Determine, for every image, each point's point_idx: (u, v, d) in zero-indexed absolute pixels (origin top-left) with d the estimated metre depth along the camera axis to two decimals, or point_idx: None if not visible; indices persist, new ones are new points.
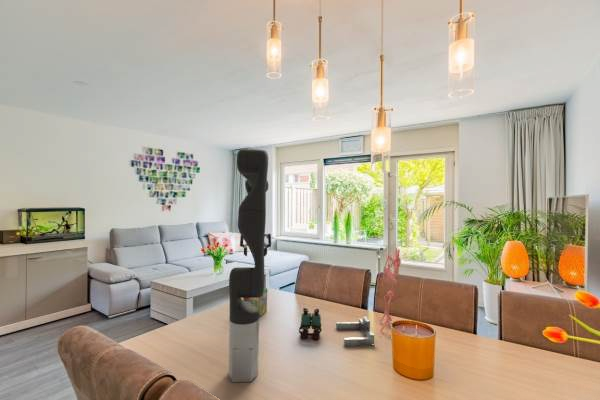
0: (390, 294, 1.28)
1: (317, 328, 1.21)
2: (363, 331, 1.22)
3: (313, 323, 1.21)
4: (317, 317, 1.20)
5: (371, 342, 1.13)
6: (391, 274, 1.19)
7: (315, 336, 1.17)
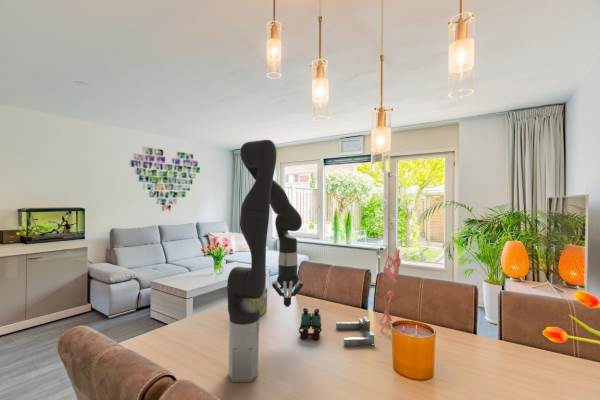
0: (390, 294, 1.28)
1: (317, 328, 1.21)
2: (363, 331, 1.22)
3: (313, 323, 1.21)
4: (317, 317, 1.20)
5: (371, 342, 1.13)
6: (391, 274, 1.19)
7: (315, 336, 1.17)
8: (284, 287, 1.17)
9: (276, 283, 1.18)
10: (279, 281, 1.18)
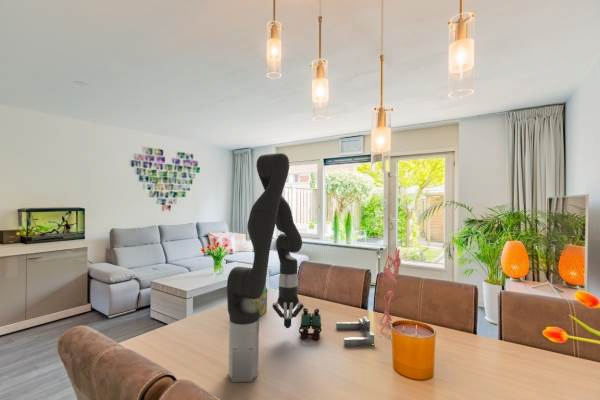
0: (390, 294, 1.28)
1: (317, 328, 1.21)
2: (363, 331, 1.22)
3: (313, 323, 1.21)
4: (317, 317, 1.20)
5: (371, 342, 1.13)
6: (391, 274, 1.19)
7: (315, 336, 1.17)
8: (284, 308, 1.17)
9: (276, 304, 1.18)
10: (279, 302, 1.18)
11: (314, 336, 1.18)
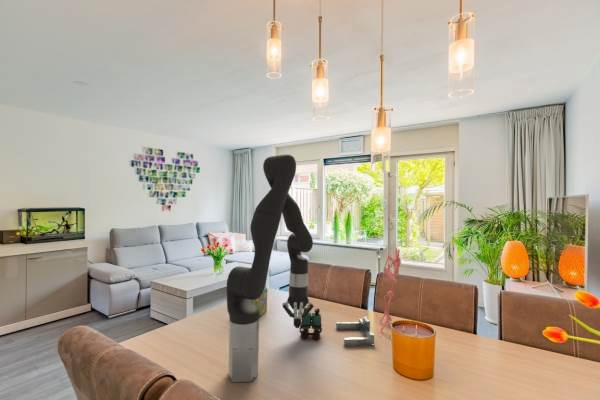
0: (390, 294, 1.28)
1: (317, 328, 1.21)
2: (363, 331, 1.22)
3: (313, 323, 1.21)
4: (318, 317, 1.20)
5: (371, 342, 1.13)
6: (391, 274, 1.19)
7: (316, 336, 1.17)
8: (294, 308, 1.17)
9: (286, 304, 1.18)
10: (290, 302, 1.18)
11: (315, 336, 1.18)
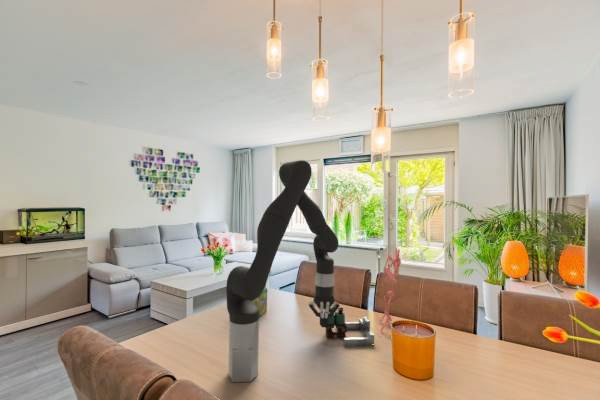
0: (390, 294, 1.28)
1: (342, 326, 1.22)
2: (363, 331, 1.22)
3: (338, 322, 1.22)
4: (342, 316, 1.22)
5: (371, 342, 1.13)
6: (391, 274, 1.19)
7: (342, 334, 1.19)
8: (321, 308, 1.18)
9: (313, 303, 1.19)
10: (316, 302, 1.19)
11: (341, 334, 1.19)
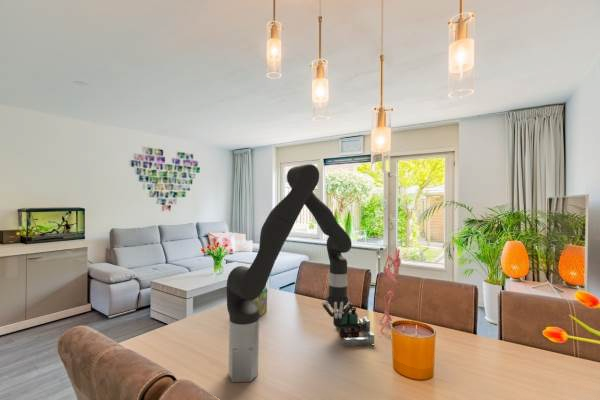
0: (390, 294, 1.28)
1: (355, 326, 1.23)
2: (363, 331, 1.22)
3: (351, 322, 1.23)
4: (355, 315, 1.23)
5: (371, 342, 1.13)
6: (391, 274, 1.19)
7: (355, 334, 1.20)
8: (335, 308, 1.19)
9: (326, 303, 1.20)
10: (330, 302, 1.19)
11: (354, 334, 1.20)
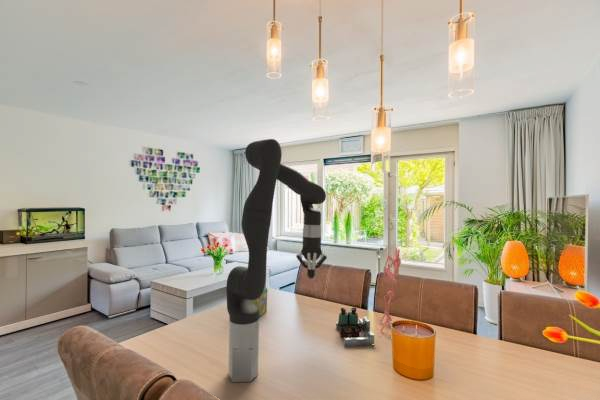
0: (390, 294, 1.28)
1: (355, 326, 1.23)
2: (363, 331, 1.22)
3: (351, 322, 1.23)
4: (355, 315, 1.23)
5: (371, 342, 1.13)
6: (391, 274, 1.19)
7: (356, 334, 1.20)
8: (308, 259, 1.20)
9: (300, 255, 1.21)
10: (303, 253, 1.21)
11: (355, 334, 1.20)
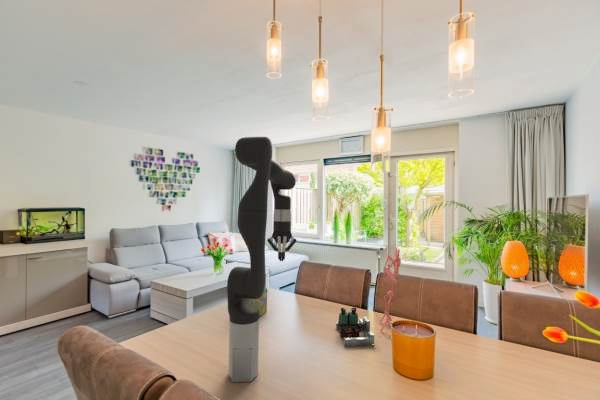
0: (390, 294, 1.28)
1: (355, 326, 1.23)
2: (363, 331, 1.22)
3: (351, 322, 1.23)
4: (355, 315, 1.23)
5: (371, 342, 1.13)
6: (391, 274, 1.19)
7: (356, 334, 1.20)
8: (278, 242, 1.25)
9: (271, 238, 1.26)
10: (274, 236, 1.25)
11: (355, 334, 1.20)
